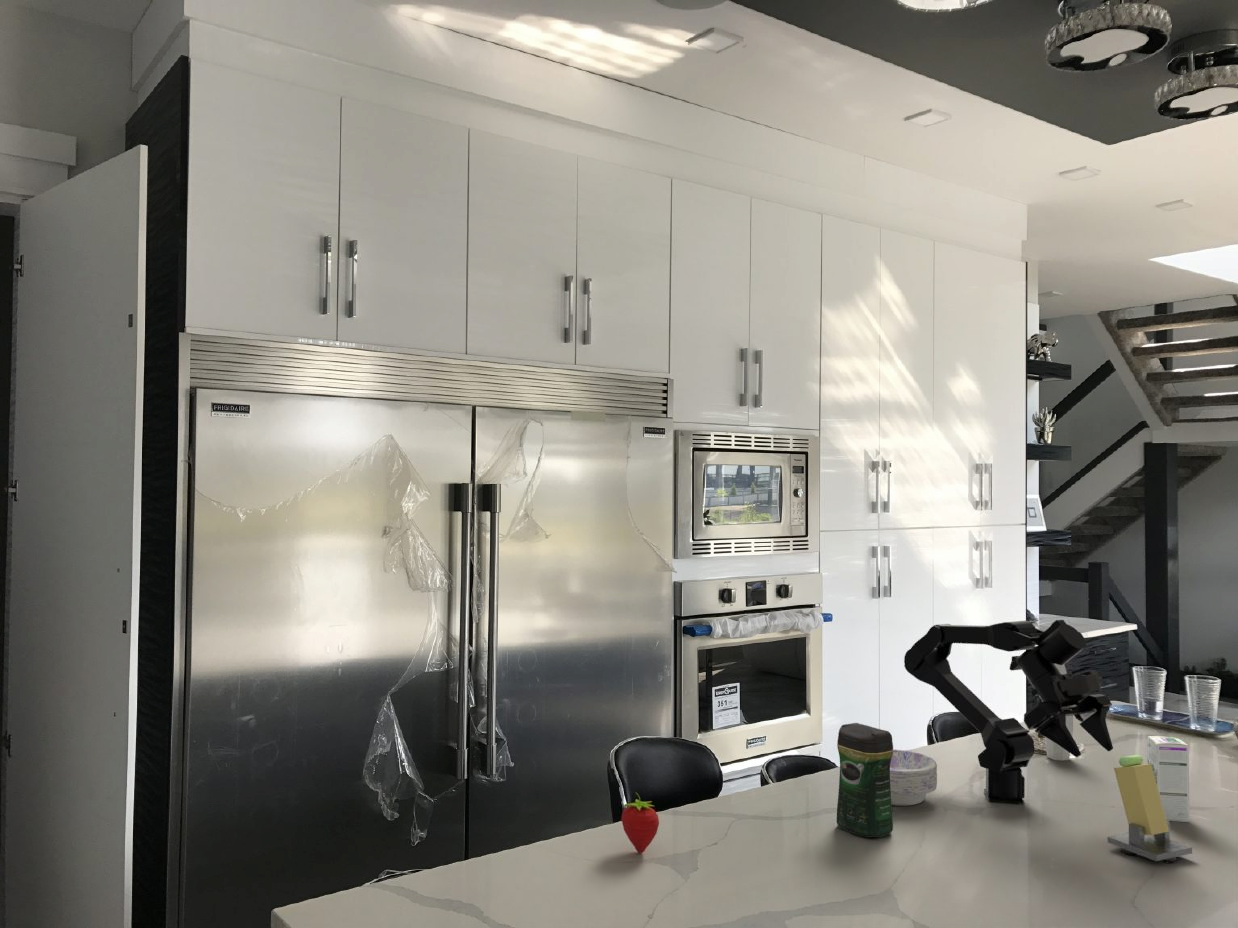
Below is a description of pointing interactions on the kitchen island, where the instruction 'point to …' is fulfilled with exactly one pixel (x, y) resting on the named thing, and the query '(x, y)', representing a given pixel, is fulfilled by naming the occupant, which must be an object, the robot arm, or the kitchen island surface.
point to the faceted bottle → (1052, 748)
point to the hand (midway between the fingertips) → (1095, 752)
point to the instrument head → (1140, 795)
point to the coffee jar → (864, 780)
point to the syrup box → (1171, 775)
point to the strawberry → (640, 824)
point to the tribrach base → (1149, 844)
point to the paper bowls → (911, 777)
